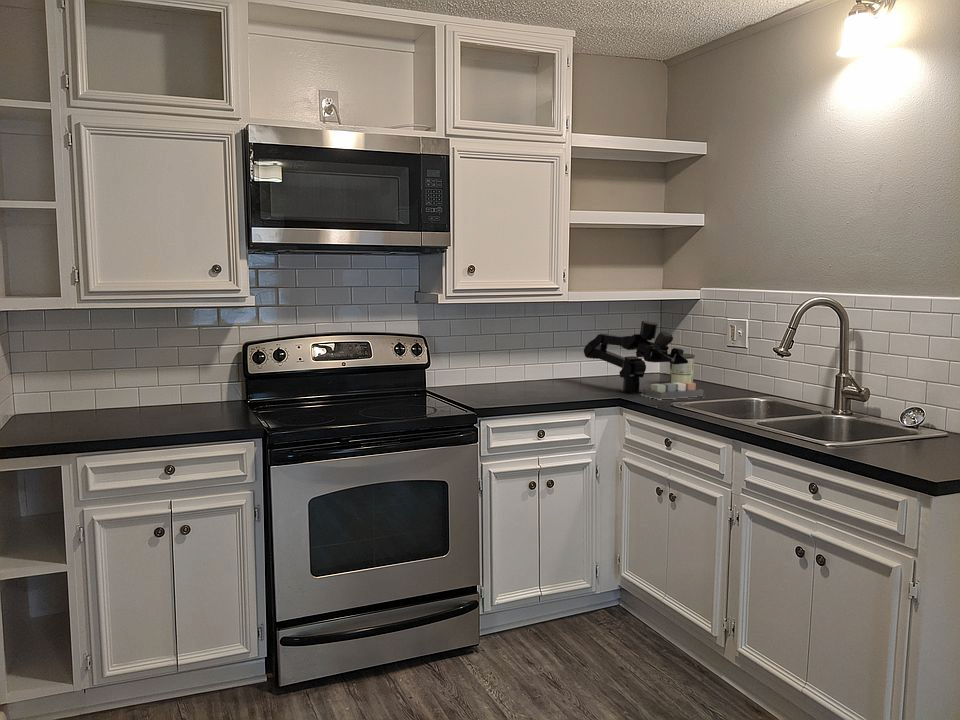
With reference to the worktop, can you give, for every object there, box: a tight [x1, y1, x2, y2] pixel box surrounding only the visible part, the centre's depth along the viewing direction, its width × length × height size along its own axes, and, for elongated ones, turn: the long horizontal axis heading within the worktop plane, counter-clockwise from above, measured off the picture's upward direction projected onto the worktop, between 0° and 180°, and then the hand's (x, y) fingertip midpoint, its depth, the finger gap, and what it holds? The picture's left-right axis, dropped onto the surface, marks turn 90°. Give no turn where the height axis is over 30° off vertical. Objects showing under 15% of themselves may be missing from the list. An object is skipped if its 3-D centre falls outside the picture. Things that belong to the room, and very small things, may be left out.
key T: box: [681, 382, 697, 390], centre depth 317 cm, size 4×4×3 cm
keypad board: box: [639, 387, 704, 401], centre depth 313 cm, size 11×24×3 cm, turn 118°
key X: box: [661, 382, 676, 392], centre depth 312 cm, size 4×4×3 cm
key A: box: [650, 383, 666, 392], centre depth 310 cm, size 4×4×3 cm
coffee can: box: [668, 353, 696, 383], centre depth 341 cm, size 10×10×14 cm
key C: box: [671, 383, 686, 391], centre depth 314 cm, size 4×4×3 cm
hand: (679, 361), depth 298 cm, fingers open, 9 cm apart
